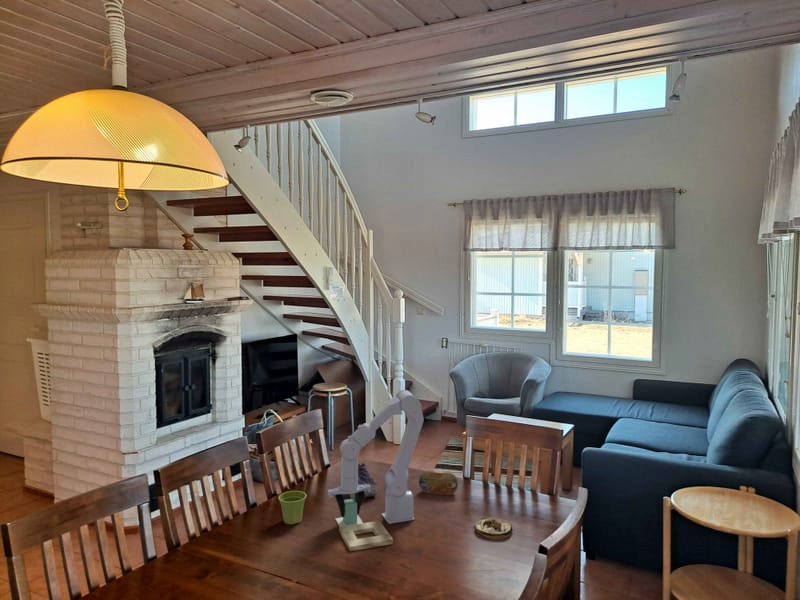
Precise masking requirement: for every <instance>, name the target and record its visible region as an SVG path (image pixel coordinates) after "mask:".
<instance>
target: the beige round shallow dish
mask: <svg viewBox="0 0 800 600" xmlns="http://www.w3.org/2000/svg"><path fill="white" fill-rule="evenodd" d="M473 528H474V529H475V532H476V535H477V536H478V537H481V538H483V539H486V540H490V539H492V540H500V539H501V540H503V539H507V538H509V537H510V536H512V535H513V526H512V524H511V523H510V521H508V520H505V519H501V518H496V517H480V519H478V520H477V521H475V523H474V526H473ZM511 534H512V535H511Z"/></svg>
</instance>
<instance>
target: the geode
mask: <svg viewBox="0 0 800 600" xmlns="http://www.w3.org/2000/svg"><path fill="white" fill-rule="evenodd" d="M367 469H368V468H367V465H366V464H365V463H364V462H363V463H362V464H360V463H358V485H368V484H369V485H370V486H371V492H364V493H365V498H364V499H366V498H370V497H376V496H377V495H378V491H377V482H376V480H375V478H373V477H372V476H371V475H370V473H369V471H368V470H367ZM349 497H350V499H355V493H353V494H349Z"/></svg>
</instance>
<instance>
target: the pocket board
mask: <svg viewBox="0 0 800 600" xmlns="http://www.w3.org/2000/svg"><path fill="white" fill-rule="evenodd" d="M338 533H339V534H340V537H341V538H342V540H343V541H344V543H345V546H347V549H348V550H349V552H355V551H360V550H364V549H370V548H377V547H381V546H382V547H383V546H389V545H393V544H394V539H393V537H392V536H391V534H390V533H389V532H388V531H387V529H386V528H385V526H384V525H383V524H382V522H381V521H380V520H375V521H370V522H369V521H368V522H363V523H362V524H356V525H350V526H343V527H339V526H338ZM366 533H373V534H374V536H367V537H362V538H358V537H357V535H360V534H366Z"/></svg>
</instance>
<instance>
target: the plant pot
mask: <svg viewBox="0 0 800 600" xmlns="http://www.w3.org/2000/svg"><path fill="white" fill-rule="evenodd" d="M306 498H307V493H305V492H304V491H300V490H290V491H286V492H285V491H284V492H283V493H281V494H279V496H278V500H279V503H280V506H281V511H282V513H281V514H282V517H283V522H284V523H285V524H286V525H295V524H299V523H301V522H302V521H303V516H304V515H303V512H304V506H305V502H306Z"/></svg>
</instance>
